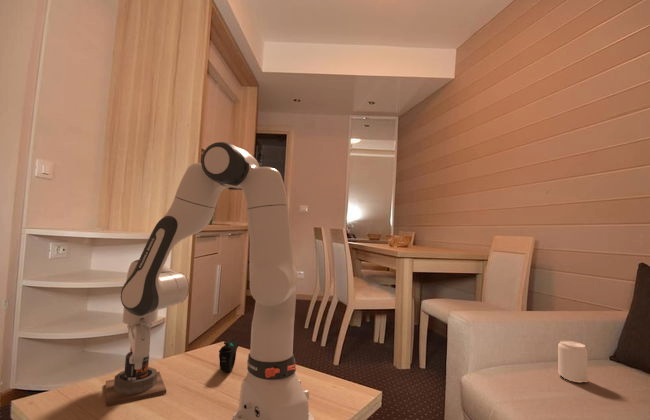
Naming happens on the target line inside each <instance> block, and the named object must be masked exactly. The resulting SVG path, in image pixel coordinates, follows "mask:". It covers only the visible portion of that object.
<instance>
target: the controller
mask: <svg viewBox="0 0 650 420" xmlns="http://www.w3.org/2000/svg"><path fill="white" fill-rule="evenodd" d="M223 344H224V345H223V346H222V347H221V348H220V349H219V350H218V353H219V354H218V358H219V369H220V371H221V372H223V373H229V372H231V371H233V369H234V366H235V362H236V358H237V350H238V348H239V345H240V343H239V340H233V339H230V340H227V341H224V342H223Z"/></svg>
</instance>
